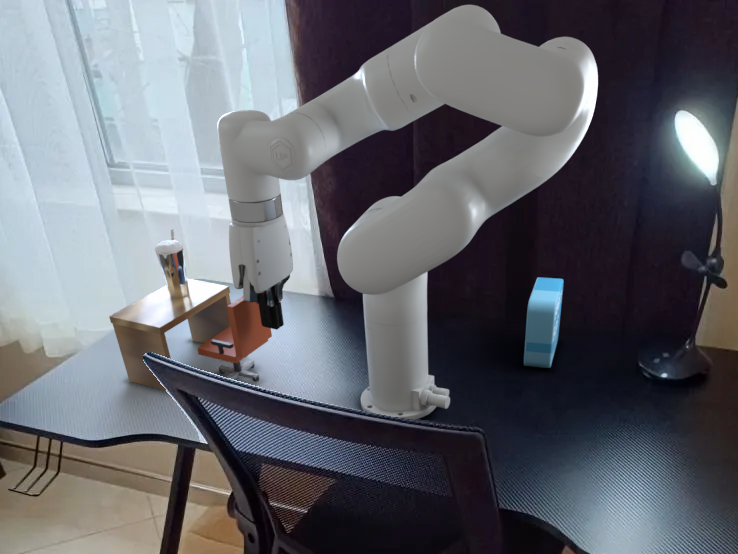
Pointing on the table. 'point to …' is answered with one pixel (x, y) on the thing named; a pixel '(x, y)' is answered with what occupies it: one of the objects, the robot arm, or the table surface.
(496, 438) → the table surface
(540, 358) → the data package
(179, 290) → the milkshake
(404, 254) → the robot arm
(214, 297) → the desk
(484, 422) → the table surface
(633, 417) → the table surface
